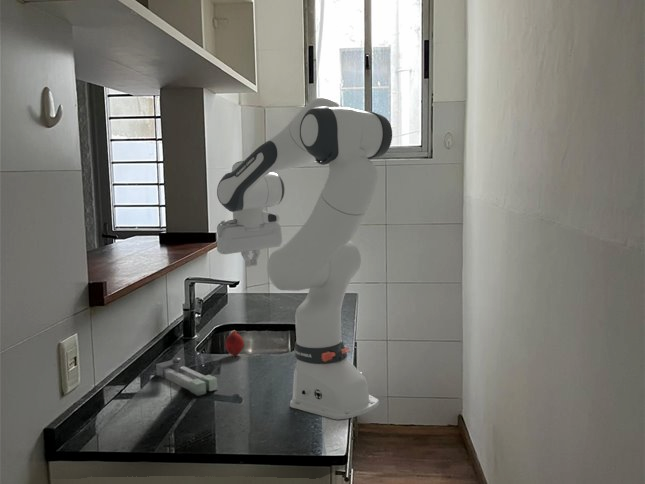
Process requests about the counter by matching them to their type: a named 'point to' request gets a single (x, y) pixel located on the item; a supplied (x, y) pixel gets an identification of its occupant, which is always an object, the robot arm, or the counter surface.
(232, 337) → the onion
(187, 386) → the tong base
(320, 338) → the robot arm
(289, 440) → the counter surface
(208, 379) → the tong arm
